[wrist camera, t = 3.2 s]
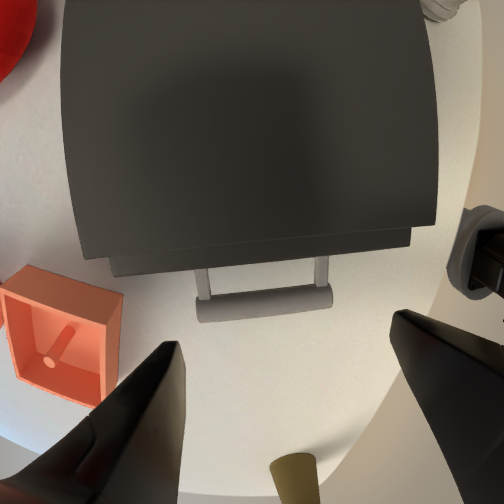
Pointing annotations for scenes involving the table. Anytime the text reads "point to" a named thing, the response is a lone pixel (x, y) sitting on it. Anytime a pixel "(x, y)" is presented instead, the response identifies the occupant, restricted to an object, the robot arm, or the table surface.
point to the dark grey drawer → (260, 252)
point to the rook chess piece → (440, 9)
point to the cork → (296, 479)
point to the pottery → (62, 334)
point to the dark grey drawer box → (245, 120)
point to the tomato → (15, 31)
